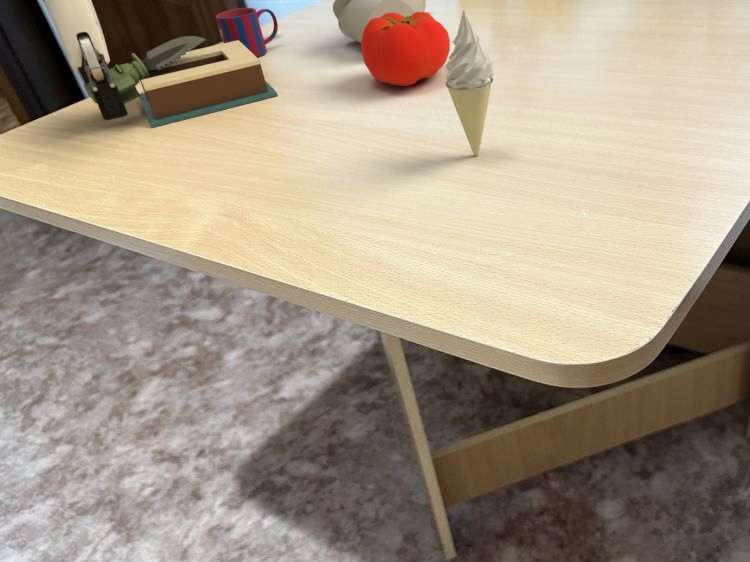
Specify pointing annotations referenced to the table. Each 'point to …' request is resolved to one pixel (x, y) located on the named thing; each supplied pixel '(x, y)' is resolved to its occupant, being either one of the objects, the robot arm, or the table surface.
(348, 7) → the bent grey cylinder
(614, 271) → the table surface
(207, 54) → the tissue dispenser
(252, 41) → the mug
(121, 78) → the knife
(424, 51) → the tomato
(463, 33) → the ice cream cone
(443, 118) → the table surface
